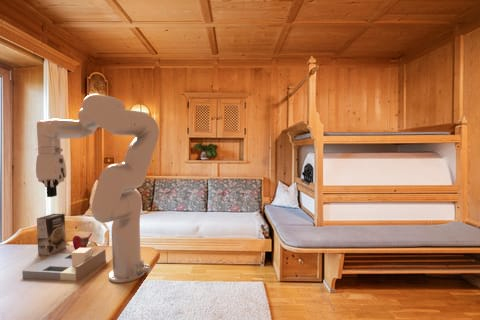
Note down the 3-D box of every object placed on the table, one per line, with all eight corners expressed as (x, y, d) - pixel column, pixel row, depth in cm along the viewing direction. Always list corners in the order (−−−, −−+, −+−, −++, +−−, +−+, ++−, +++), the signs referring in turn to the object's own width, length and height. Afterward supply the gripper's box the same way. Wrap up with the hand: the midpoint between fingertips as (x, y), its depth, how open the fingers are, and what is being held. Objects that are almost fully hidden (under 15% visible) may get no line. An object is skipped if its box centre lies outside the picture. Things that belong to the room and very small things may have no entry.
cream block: (92, 260, 108) (92, 247, 108) (84, 265, 103) (84, 252, 103) (80, 260, 108) (79, 247, 108) (72, 265, 103) (71, 252, 103)
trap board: (105, 261, 113) (105, 249, 113) (78, 280, 97) (77, 266, 97) (57, 259, 116) (56, 247, 115) (22, 277, 100) (21, 264, 99)
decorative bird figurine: (70, 261, 113) (68, 238, 112) (89, 245, 130) (88, 225, 130) (77, 261, 113) (76, 237, 112) (95, 245, 131) (94, 224, 130)
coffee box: (49, 255, 119) (47, 218, 118) (37, 254, 121) (35, 218, 120) (67, 247, 128) (65, 213, 127) (55, 246, 130) (53, 212, 129)
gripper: (73, 150, 113) (75, 194, 115) (40, 151, 115) (43, 194, 116) (59, 151, 106) (61, 198, 107) (24, 151, 108) (27, 198, 109)
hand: (52, 196), depth 112 cm, fingers closed
